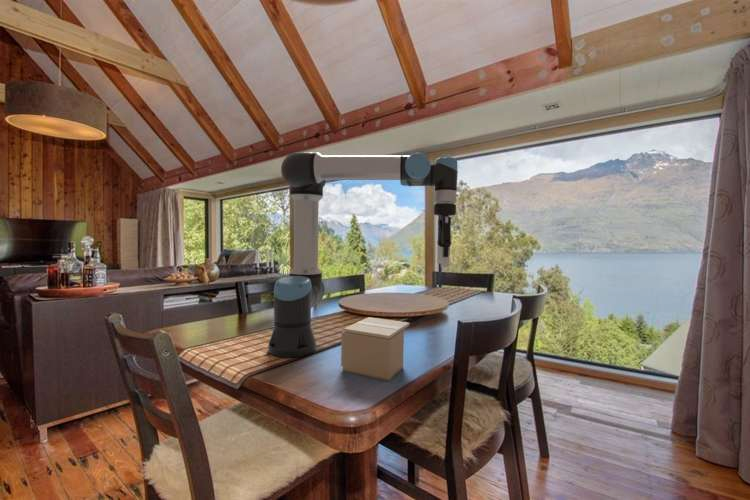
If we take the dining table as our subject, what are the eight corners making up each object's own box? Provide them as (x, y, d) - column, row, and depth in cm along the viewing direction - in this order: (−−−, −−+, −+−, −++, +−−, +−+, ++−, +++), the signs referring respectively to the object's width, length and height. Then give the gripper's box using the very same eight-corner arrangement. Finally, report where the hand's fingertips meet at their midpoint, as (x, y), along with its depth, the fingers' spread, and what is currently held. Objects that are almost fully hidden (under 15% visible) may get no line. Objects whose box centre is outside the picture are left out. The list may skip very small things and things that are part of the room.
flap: (343, 331, 94) (343, 328, 94) (368, 319, 108) (368, 316, 108) (389, 338, 89) (389, 335, 89) (409, 325, 102) (409, 322, 102)
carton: (340, 370, 95) (340, 331, 95) (357, 359, 104) (358, 323, 104) (389, 381, 89) (389, 339, 88) (403, 368, 98) (403, 330, 97)
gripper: (461, 200, 105) (459, 268, 106) (451, 206, 130) (449, 262, 131) (436, 199, 106) (434, 268, 107) (431, 206, 131) (429, 261, 132)
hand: (442, 265), depth 119 cm, fingers open, 13 cm apart
